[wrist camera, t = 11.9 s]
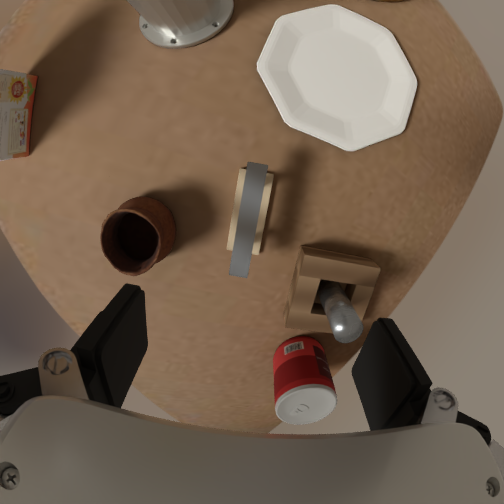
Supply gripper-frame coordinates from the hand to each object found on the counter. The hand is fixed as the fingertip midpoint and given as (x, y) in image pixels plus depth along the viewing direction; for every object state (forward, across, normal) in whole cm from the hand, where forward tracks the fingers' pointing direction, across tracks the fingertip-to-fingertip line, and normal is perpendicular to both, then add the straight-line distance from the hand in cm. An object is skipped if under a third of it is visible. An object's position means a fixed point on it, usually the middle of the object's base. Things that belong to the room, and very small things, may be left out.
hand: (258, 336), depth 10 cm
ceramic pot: (+25, +14, +5) cm, 29 cm away
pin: (+23, -11, +9) cm, 27 cm away
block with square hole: (+24, -11, +9) cm, 28 cm away
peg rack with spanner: (+24, +1, +1) cm, 24 cm away
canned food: (+24, -10, +21) cm, 33 cm away
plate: (+26, -8, -19) cm, 33 cm away
